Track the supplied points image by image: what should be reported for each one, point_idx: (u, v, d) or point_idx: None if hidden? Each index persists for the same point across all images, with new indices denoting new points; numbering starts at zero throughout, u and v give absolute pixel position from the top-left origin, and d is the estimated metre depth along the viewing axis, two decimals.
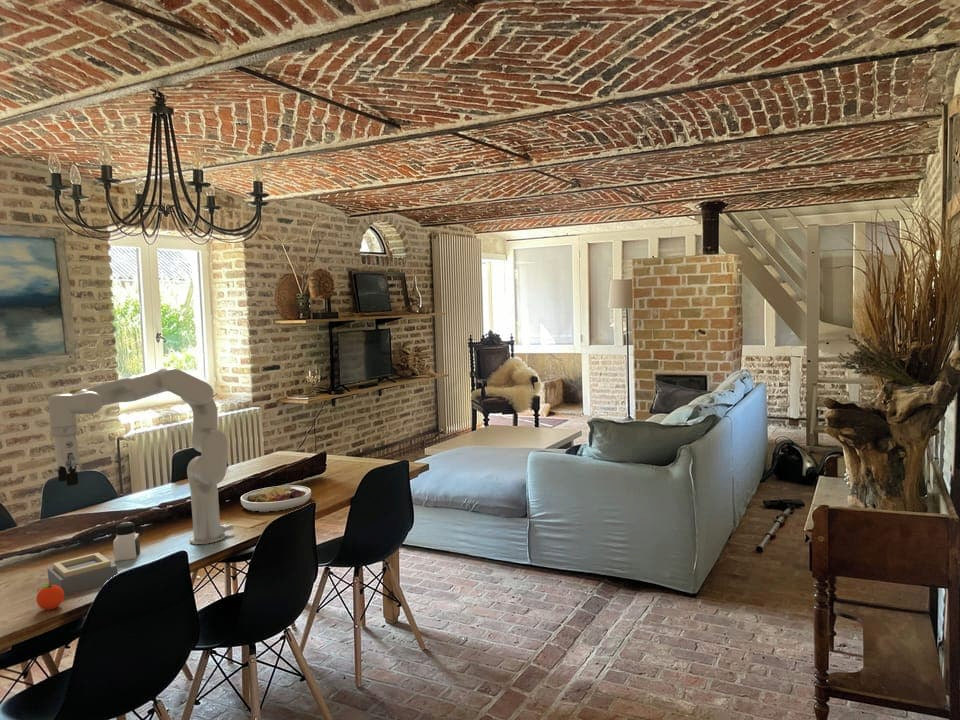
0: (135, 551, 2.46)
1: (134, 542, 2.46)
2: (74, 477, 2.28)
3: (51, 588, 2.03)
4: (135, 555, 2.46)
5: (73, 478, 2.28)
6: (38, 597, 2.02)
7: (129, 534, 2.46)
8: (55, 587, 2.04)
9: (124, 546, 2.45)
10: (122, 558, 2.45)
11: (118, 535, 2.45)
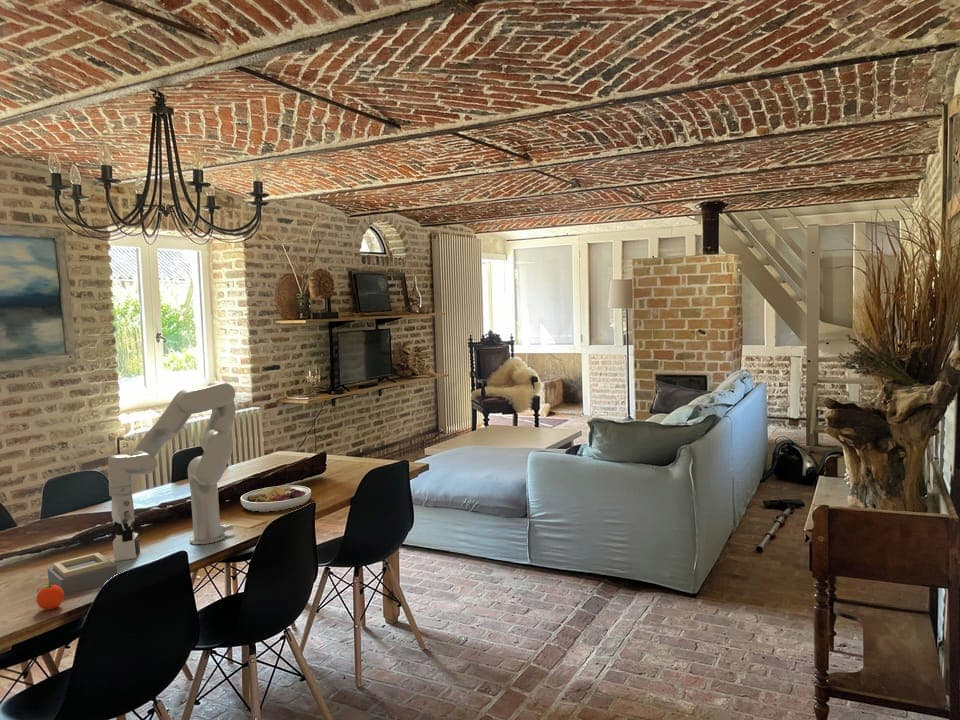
0: (135, 551, 2.46)
1: (133, 542, 2.46)
2: (129, 534, 2.44)
3: (51, 588, 2.03)
4: (135, 555, 2.46)
5: (128, 535, 2.43)
6: (38, 597, 2.02)
7: None
8: (55, 587, 2.04)
9: (124, 546, 2.45)
10: (122, 558, 2.45)
11: (117, 535, 2.45)
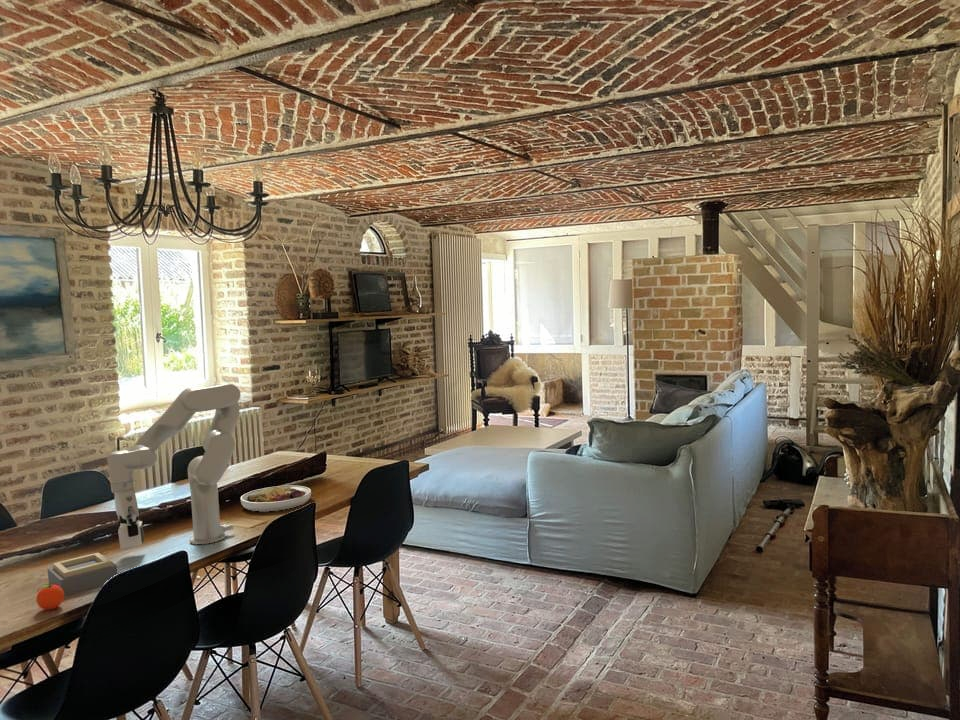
0: (141, 538, 2.47)
1: (139, 529, 2.47)
2: (135, 529, 2.45)
3: (51, 588, 2.03)
4: (141, 542, 2.47)
5: (134, 530, 2.45)
6: (38, 597, 2.02)
7: None
8: (55, 587, 2.04)
9: None
10: (128, 546, 2.46)
11: (122, 523, 2.46)
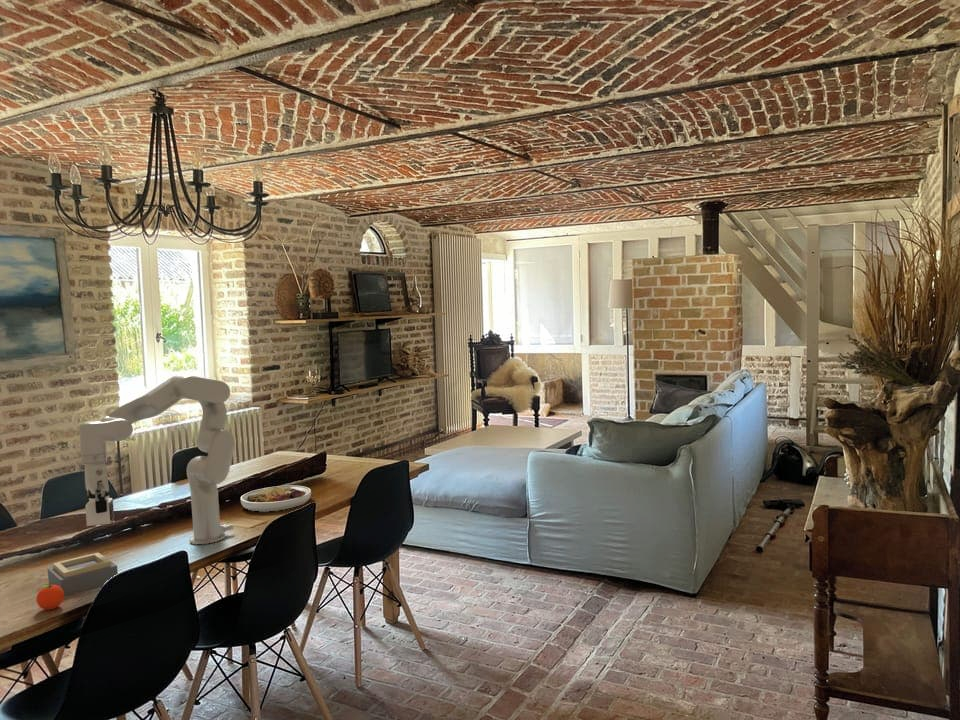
0: (109, 515, 2.32)
1: (108, 506, 2.32)
2: (103, 505, 2.30)
3: (51, 588, 2.03)
4: (109, 520, 2.32)
5: (102, 506, 2.30)
6: (38, 597, 2.02)
7: None
8: (55, 587, 2.04)
9: None
10: (95, 523, 2.31)
11: (91, 498, 2.31)
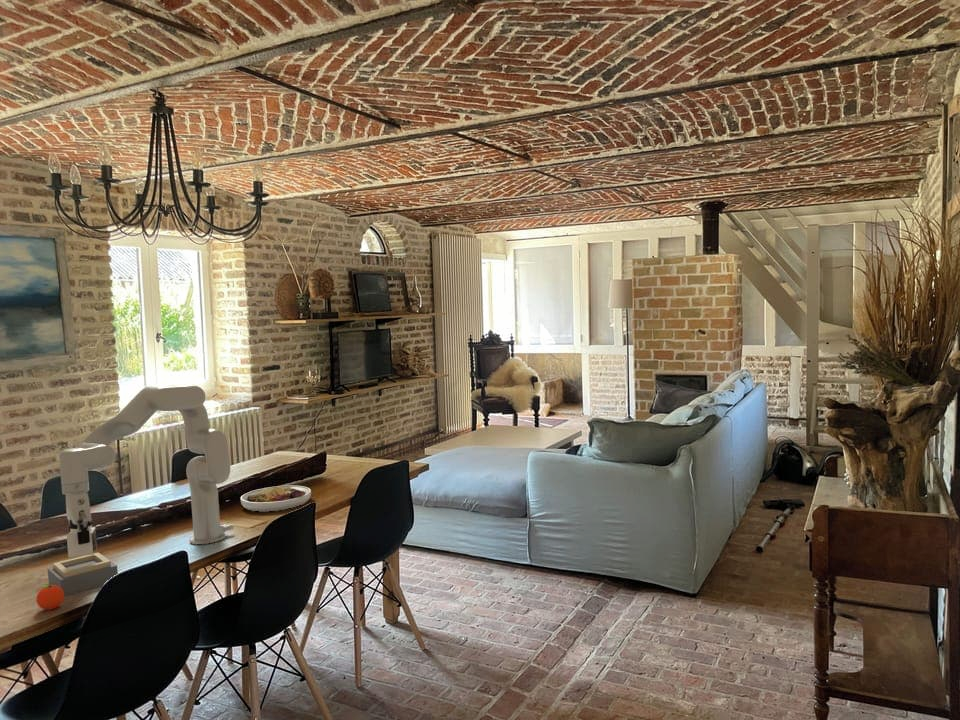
0: (92, 546, 2.23)
1: (91, 536, 2.23)
2: (86, 535, 2.21)
3: (51, 588, 2.03)
4: (92, 551, 2.23)
5: (85, 536, 2.20)
6: (38, 597, 2.02)
7: None
8: (55, 587, 2.04)
9: None
10: (77, 554, 2.21)
11: (72, 529, 2.22)
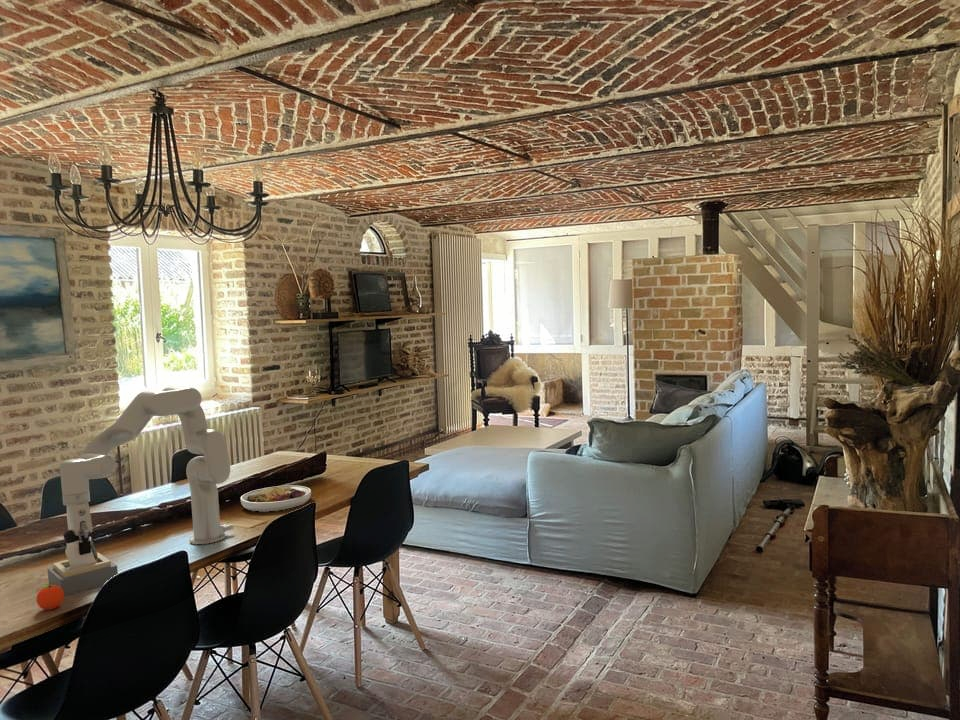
0: (93, 555, 2.23)
1: None
2: (87, 546, 2.21)
3: (51, 588, 2.03)
4: (94, 559, 2.23)
5: (86, 547, 2.21)
6: (38, 597, 2.02)
7: None
8: (55, 587, 2.04)
9: None
10: (80, 566, 2.22)
11: (69, 543, 2.21)
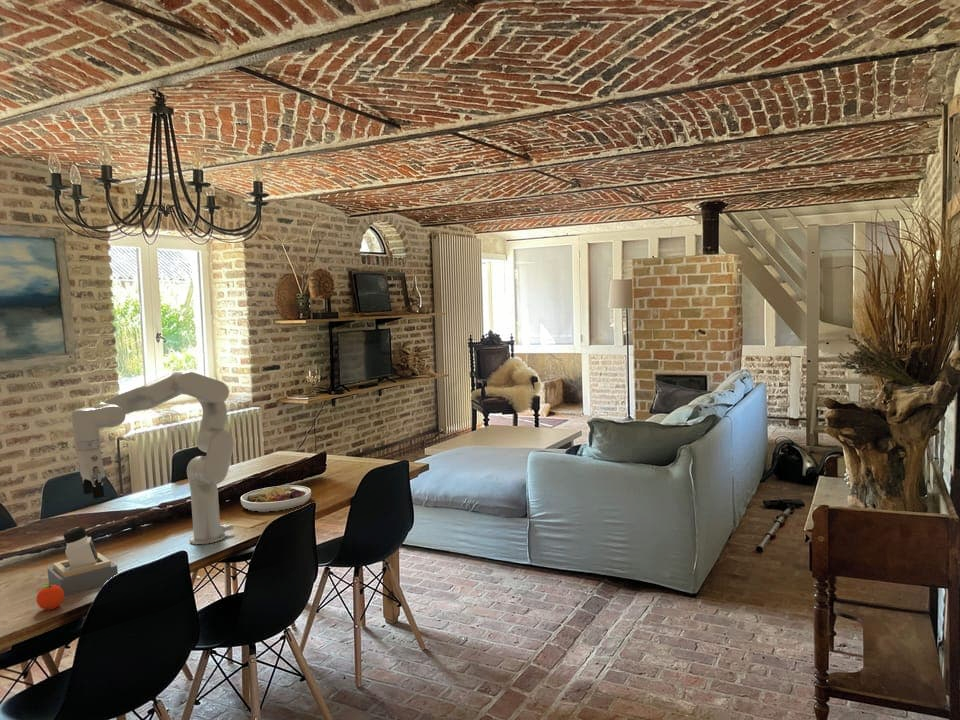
0: (93, 555, 2.23)
1: (89, 546, 2.23)
2: (100, 490, 2.31)
3: (51, 588, 2.03)
4: (94, 559, 2.23)
5: (99, 491, 2.31)
6: (38, 597, 2.02)
7: (81, 539, 2.22)
8: (55, 587, 2.04)
9: (79, 553, 2.21)
10: (80, 566, 2.22)
11: (69, 543, 2.21)
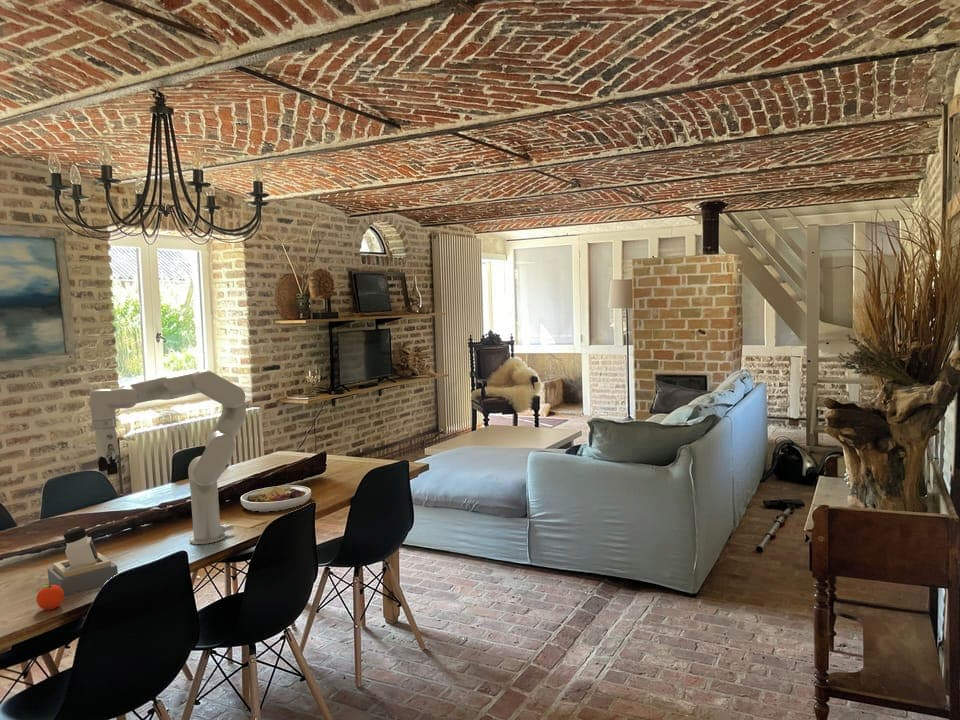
0: (93, 555, 2.23)
1: (89, 546, 2.23)
2: (114, 467, 2.44)
3: (51, 588, 2.03)
4: (94, 559, 2.23)
5: (113, 468, 2.43)
6: (38, 597, 2.02)
7: (81, 539, 2.22)
8: (55, 587, 2.04)
9: (79, 553, 2.21)
10: (80, 566, 2.22)
11: (69, 543, 2.21)
